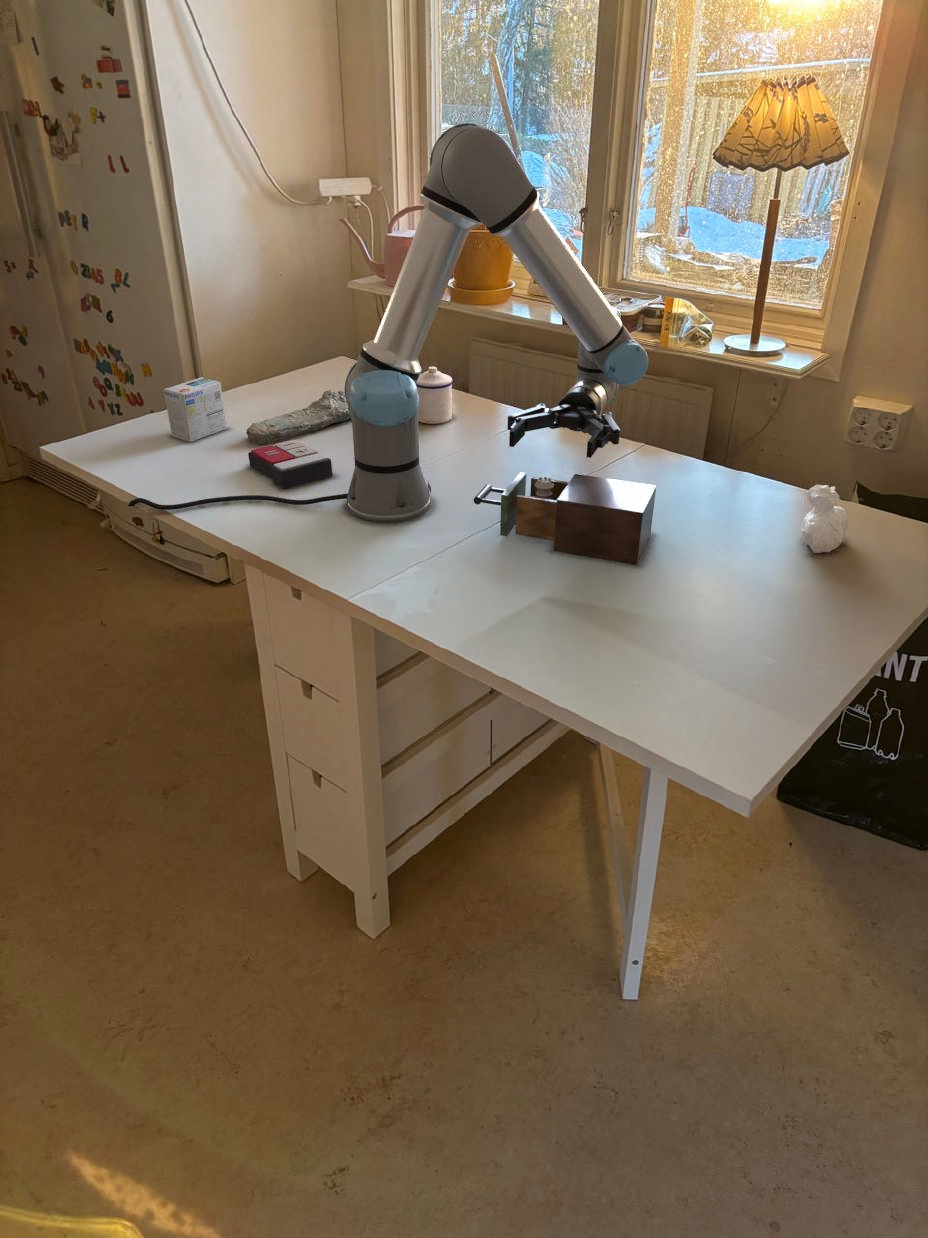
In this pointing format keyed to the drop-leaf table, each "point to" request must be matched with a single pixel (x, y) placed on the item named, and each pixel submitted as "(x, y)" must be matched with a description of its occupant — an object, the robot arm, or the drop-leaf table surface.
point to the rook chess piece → (544, 488)
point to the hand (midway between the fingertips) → (549, 444)
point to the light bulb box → (195, 409)
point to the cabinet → (604, 518)
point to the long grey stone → (302, 419)
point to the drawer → (525, 508)
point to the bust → (824, 520)
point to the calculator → (290, 463)
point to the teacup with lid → (434, 397)
